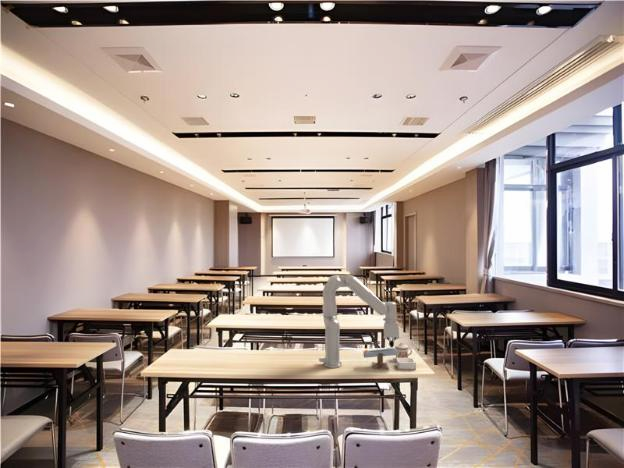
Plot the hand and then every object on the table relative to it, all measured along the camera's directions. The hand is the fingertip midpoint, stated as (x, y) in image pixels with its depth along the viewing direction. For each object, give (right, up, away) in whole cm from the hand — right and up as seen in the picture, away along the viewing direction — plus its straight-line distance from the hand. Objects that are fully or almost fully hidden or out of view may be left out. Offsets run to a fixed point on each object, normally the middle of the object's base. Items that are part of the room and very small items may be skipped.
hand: (391, 346), depth 249 cm
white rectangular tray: (+8, -11, -7) cm, 16 cm away
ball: (-18, -2, -4) cm, 18 cm away
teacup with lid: (+11, -12, +9) cm, 18 cm away
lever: (-8, -4, -2) cm, 9 cm away
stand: (-9, -11, -5) cm, 15 cm away
